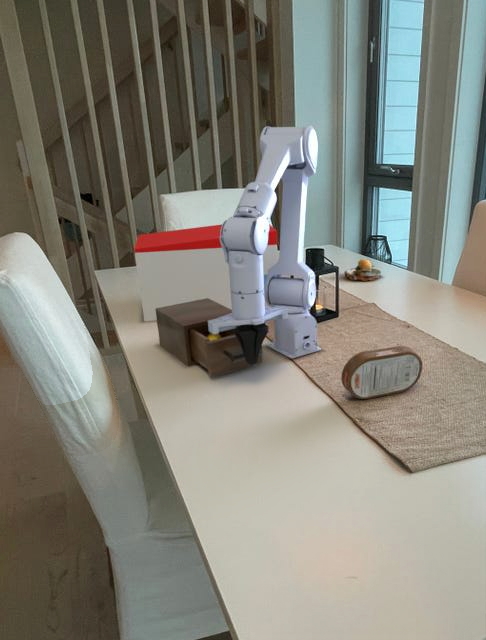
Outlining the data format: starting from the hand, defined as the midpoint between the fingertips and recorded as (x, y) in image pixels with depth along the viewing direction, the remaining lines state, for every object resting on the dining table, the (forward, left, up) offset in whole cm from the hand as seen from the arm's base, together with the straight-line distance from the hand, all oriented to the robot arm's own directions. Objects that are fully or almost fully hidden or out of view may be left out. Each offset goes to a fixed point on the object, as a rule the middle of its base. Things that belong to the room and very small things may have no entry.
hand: (251, 362), depth 92 cm
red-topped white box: (+51, -18, -5) cm, 55 cm away
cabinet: (+23, -1, -5) cm, 24 cm away
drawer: (+11, -1, -4) cm, 12 cm away
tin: (-17, -17, -5) cm, 24 cm away
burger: (+47, -71, -5) cm, 85 cm away
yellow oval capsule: (+14, -1, -2) cm, 14 cm away
